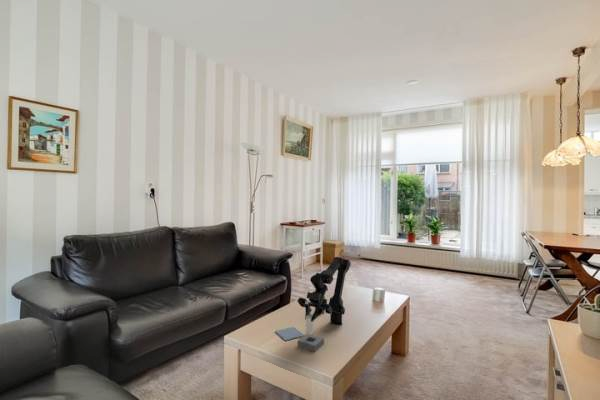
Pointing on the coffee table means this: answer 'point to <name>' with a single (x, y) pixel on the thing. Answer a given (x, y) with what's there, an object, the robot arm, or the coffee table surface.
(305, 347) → the socket block
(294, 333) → the mat
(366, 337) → the coffee table surface
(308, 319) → the plug
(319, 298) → the robot arm
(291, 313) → the coffee table surface
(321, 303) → the controller
